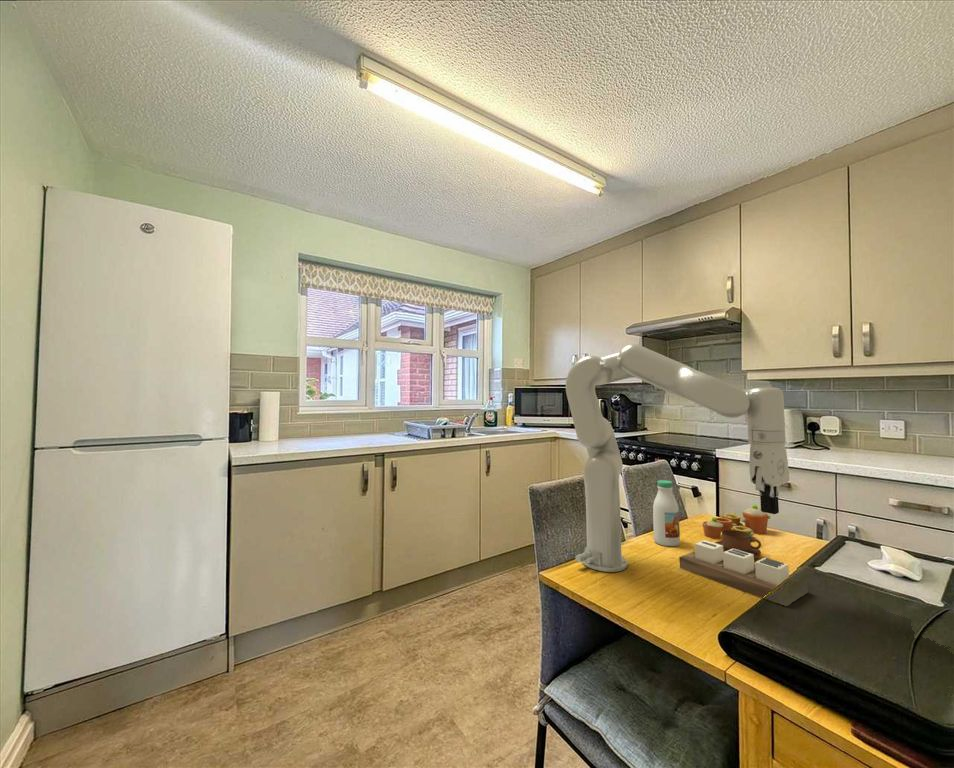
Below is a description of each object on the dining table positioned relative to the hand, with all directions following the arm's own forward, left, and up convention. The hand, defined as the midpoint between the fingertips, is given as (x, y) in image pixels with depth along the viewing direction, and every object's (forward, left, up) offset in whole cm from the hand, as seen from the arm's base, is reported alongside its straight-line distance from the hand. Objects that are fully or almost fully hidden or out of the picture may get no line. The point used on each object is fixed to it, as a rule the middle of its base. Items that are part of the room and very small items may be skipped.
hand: (769, 512), depth 97 cm
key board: (0, +8, -19) cm, 20 cm away
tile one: (0, +15, -16) cm, 22 cm away
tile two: (0, +8, -16) cm, 18 cm away
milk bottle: (+9, +34, -19) cm, 40 cm away
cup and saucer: (+18, +17, -19) cm, 31 cm away
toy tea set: (+37, +26, -20) cm, 50 cm away
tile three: (0, 0, -16) cm, 16 cm away
